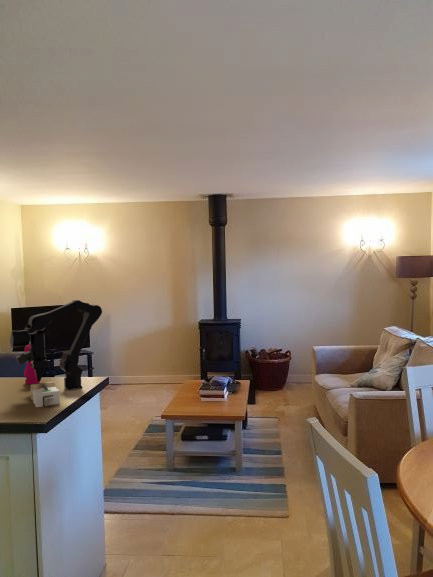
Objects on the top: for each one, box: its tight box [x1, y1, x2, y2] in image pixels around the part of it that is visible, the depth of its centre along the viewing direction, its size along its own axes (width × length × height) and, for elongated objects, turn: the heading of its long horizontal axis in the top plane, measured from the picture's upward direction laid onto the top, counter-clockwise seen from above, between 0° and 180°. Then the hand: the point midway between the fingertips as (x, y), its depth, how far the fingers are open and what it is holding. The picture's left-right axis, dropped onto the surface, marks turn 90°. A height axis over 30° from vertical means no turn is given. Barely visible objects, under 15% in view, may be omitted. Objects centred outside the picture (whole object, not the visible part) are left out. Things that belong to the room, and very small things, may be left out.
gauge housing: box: [32, 386, 61, 408], centre depth 166 cm, size 9×8×5 cm
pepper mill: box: [23, 342, 41, 385], centre depth 201 cm, size 7×7×20 cm
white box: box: [30, 381, 56, 407], centre depth 167 cm, size 9×15×6 cm, turn 32°
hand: (38, 381), depth 180 cm, fingers closed
